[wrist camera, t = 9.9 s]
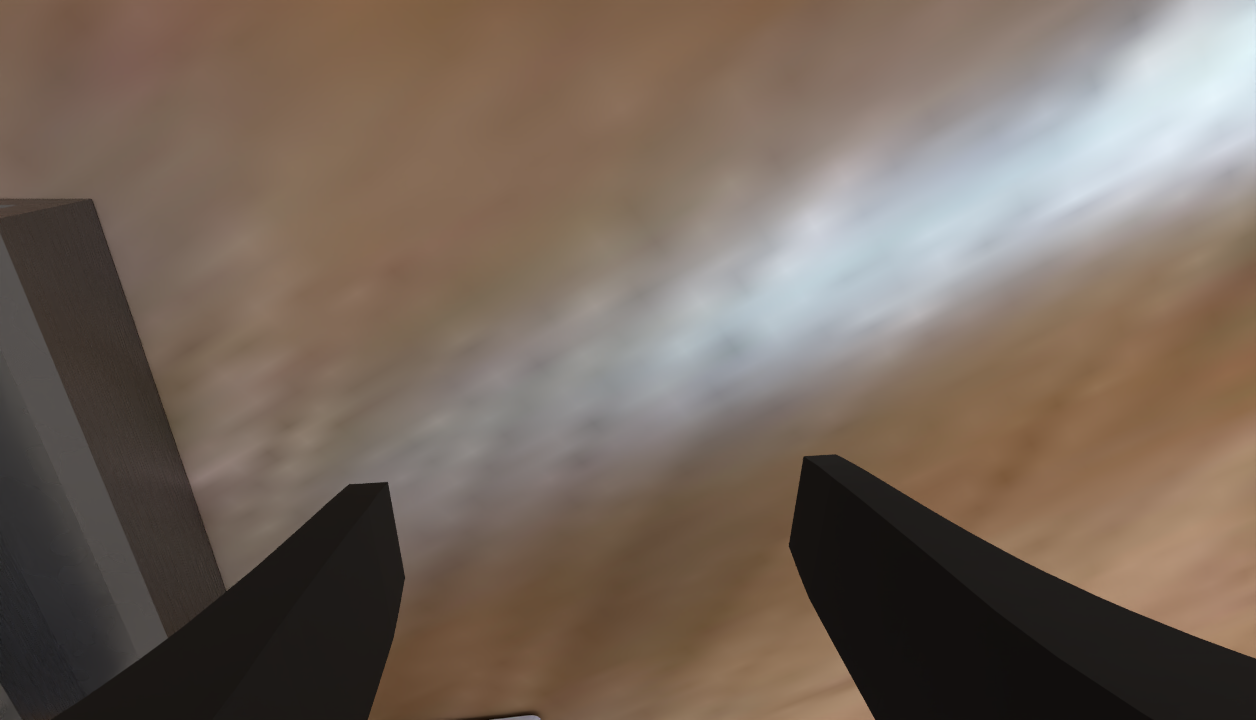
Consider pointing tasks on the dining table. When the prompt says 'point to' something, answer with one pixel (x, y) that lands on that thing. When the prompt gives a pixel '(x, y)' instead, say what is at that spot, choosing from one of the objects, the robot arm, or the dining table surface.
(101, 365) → the grey grooved block
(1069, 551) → the dining table surface
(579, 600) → the dining table surface
